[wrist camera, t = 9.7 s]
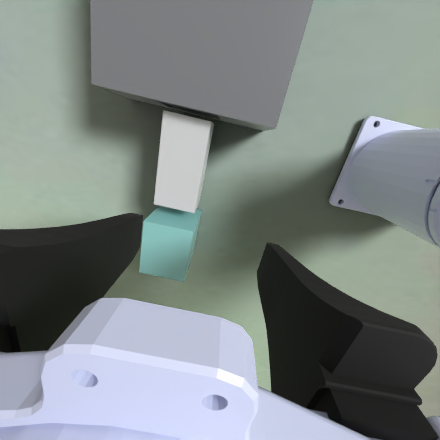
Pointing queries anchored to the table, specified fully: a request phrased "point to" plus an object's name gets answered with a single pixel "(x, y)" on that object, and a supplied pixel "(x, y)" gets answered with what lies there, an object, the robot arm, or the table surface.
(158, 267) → the plug
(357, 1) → the table surface
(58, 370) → the robot arm
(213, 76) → the grey block
